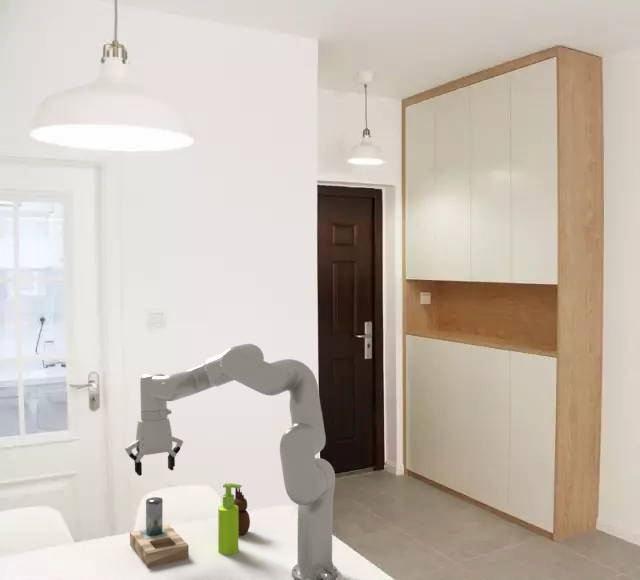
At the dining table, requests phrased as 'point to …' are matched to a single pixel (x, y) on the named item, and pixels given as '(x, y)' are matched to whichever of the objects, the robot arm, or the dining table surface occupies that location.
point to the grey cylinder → (154, 516)
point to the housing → (159, 546)
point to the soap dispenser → (228, 523)
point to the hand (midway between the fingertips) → (155, 471)
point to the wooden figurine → (242, 513)
